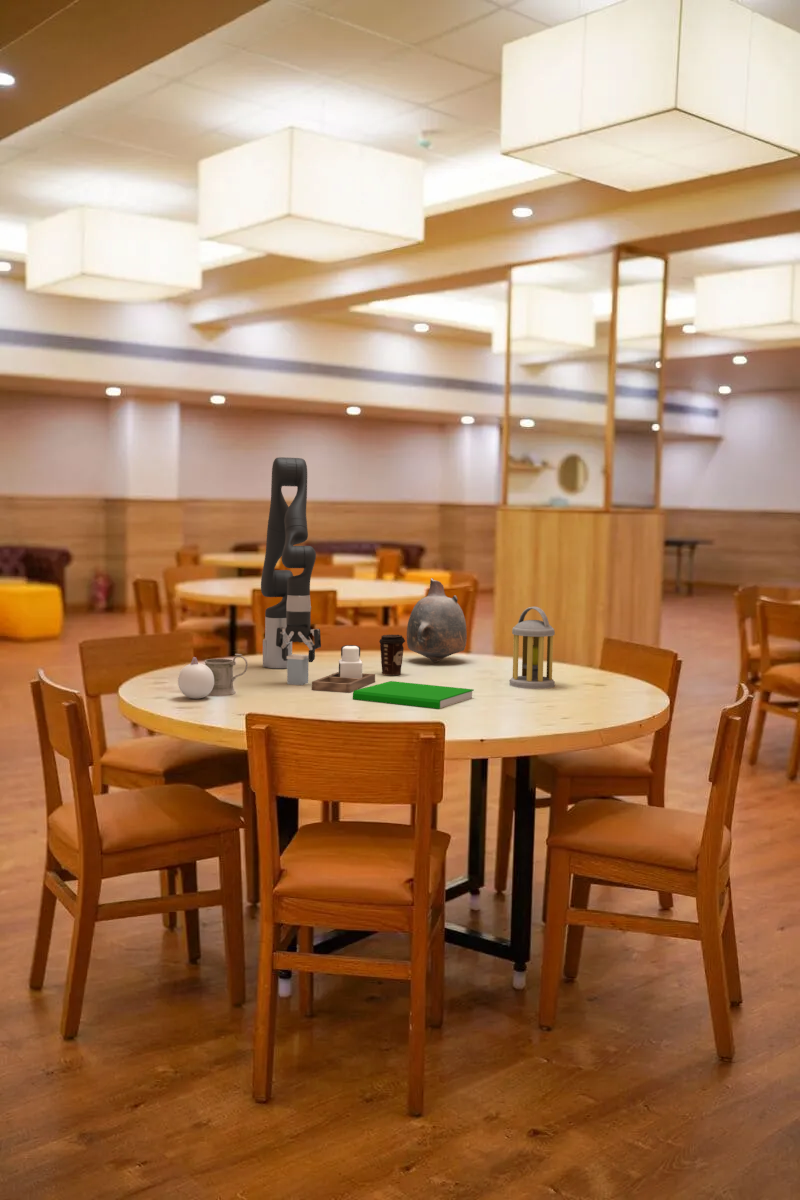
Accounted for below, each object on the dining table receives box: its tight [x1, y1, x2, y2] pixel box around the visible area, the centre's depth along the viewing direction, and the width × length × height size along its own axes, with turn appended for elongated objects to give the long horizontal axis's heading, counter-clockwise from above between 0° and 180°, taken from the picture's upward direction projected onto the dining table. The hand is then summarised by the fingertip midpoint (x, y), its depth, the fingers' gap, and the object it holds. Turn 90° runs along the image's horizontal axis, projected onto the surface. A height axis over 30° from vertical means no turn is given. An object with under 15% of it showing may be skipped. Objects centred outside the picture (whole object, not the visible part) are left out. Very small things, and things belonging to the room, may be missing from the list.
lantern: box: [509, 606, 556, 690], centre depth 378 cm, size 14×14×25 cm
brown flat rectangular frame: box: [311, 671, 376, 694], centre depth 371 cm, size 12×23×2 cm, turn 162°
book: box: [352, 680, 474, 710], centre depth 350 cm, size 22×28×3 cm
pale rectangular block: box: [286, 653, 309, 686], centre depth 374 cm, size 5×5×9 cm
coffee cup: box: [379, 634, 406, 676], centre depth 396 cm, size 9×8×13 cm
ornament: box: [177, 656, 214, 700], centre depth 344 cm, size 10×10×12 cm
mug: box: [204, 653, 249, 697], centre depth 353 cm, size 14×10×12 cm
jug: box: [406, 577, 468, 663], centre depth 427 cm, size 24×21×30 cm
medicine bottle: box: [338, 644, 363, 679], centre depth 376 cm, size 7×7×12 cm
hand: (298, 661), depth 374 cm, fingers open, 8 cm apart
